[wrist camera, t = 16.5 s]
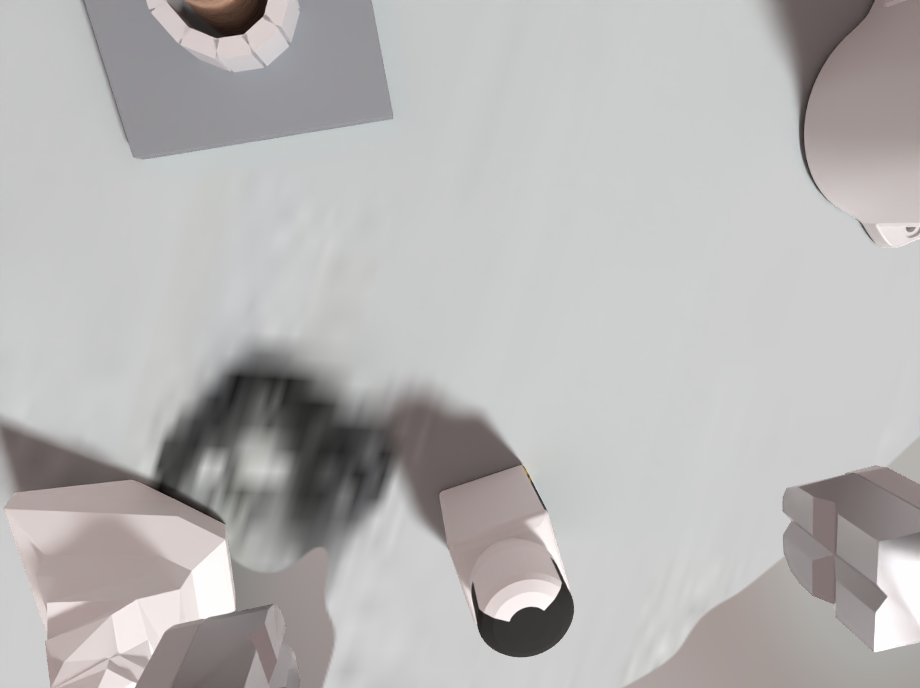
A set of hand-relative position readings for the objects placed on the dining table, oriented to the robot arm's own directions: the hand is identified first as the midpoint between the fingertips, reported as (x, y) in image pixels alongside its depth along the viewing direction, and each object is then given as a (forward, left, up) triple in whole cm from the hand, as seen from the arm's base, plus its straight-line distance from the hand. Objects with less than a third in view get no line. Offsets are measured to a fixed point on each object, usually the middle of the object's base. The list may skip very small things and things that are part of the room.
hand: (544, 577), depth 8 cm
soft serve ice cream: (+24, +16, -31) cm, 43 cm away
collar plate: (+8, -19, -31) cm, 37 cm away
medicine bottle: (-2, +19, -31) cm, 37 cm away
